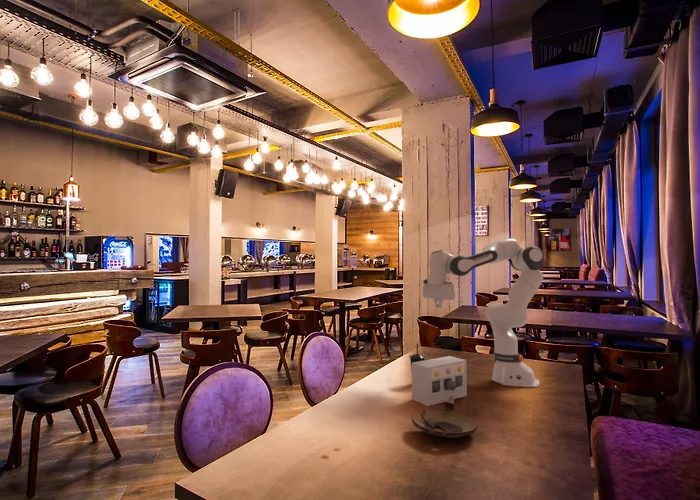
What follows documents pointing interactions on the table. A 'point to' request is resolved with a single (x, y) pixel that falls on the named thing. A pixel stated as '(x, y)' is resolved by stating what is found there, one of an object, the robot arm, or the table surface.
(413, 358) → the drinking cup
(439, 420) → the oil lamp
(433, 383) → the button
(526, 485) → the table surface
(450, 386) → the button
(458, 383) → the button
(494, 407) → the table surface
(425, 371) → the console
